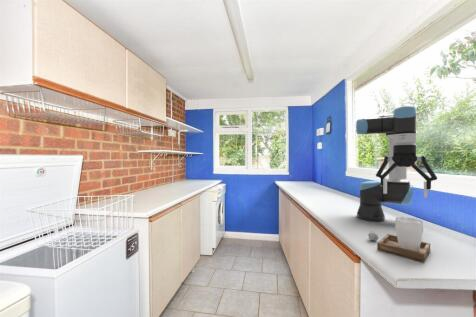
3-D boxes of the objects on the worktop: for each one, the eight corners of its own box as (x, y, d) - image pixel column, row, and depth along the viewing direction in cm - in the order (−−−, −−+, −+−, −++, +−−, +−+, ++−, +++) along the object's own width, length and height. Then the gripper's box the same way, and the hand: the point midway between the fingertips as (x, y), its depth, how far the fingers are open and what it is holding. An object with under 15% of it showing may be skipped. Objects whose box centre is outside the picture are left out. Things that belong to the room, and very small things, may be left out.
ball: (369, 238, 104) (369, 229, 104) (379, 240, 101) (379, 232, 101) (366, 240, 101) (366, 231, 101) (376, 242, 98) (376, 234, 98)
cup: (428, 254, 84) (428, 223, 84) (402, 252, 86) (402, 222, 86) (414, 245, 93) (415, 217, 93) (391, 243, 95) (391, 216, 95)
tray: (387, 240, 101) (387, 234, 101) (430, 250, 90) (430, 243, 90) (377, 249, 91) (377, 242, 91) (424, 262, 80) (424, 254, 80)
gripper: (367, 145, 97) (367, 192, 98) (444, 142, 79) (444, 201, 79) (373, 145, 103) (373, 190, 103) (446, 143, 84) (446, 198, 84)
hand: (404, 195), depth 91 cm, fingers open, 13 cm apart
